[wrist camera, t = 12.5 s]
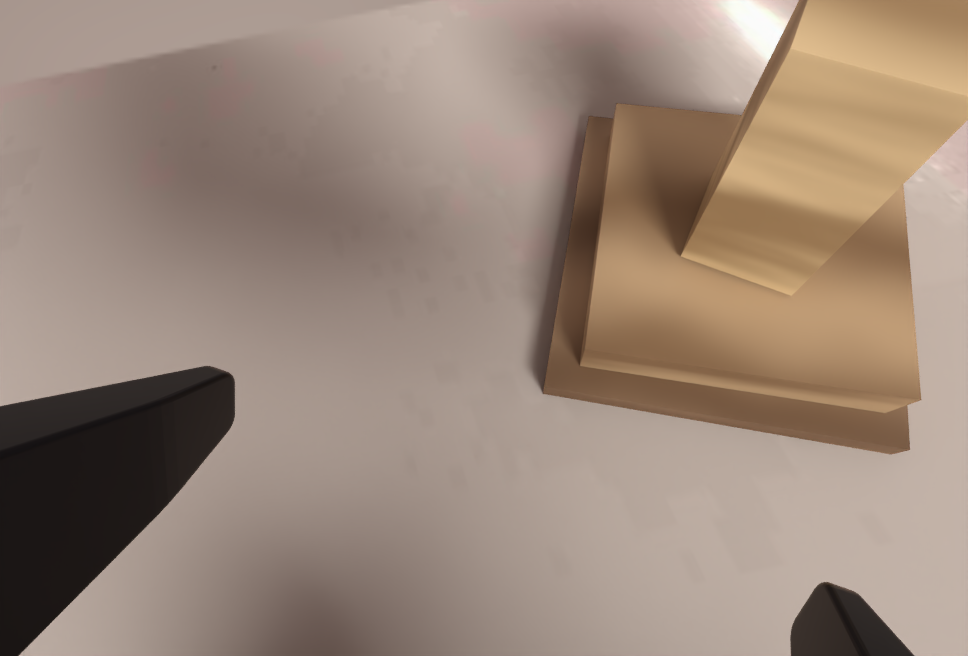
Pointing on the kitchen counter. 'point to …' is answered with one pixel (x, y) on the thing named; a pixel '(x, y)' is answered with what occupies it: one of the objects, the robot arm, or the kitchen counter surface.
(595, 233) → the bottom slab
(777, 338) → the top slab
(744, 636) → the kitchen counter surface
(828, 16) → the oak block
